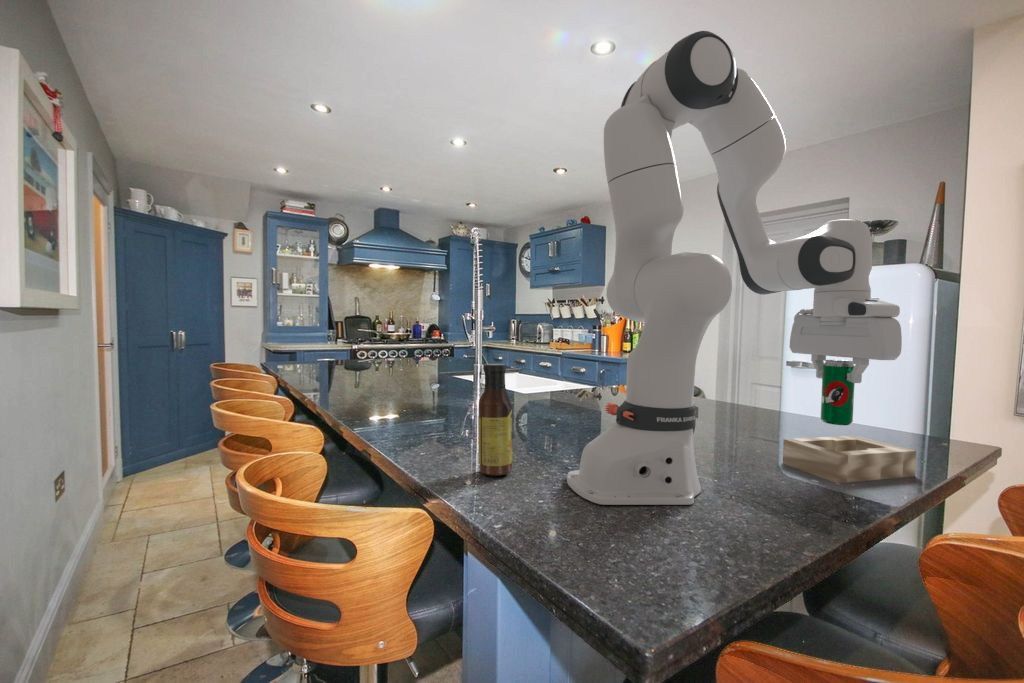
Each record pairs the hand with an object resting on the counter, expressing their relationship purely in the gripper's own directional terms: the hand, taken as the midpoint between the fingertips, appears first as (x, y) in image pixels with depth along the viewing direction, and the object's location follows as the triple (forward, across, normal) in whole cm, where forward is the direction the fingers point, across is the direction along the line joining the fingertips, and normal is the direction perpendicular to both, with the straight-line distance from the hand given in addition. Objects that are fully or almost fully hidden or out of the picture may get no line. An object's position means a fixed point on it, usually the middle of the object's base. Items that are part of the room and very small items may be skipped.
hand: (837, 380), depth 89 cm
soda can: (+8, 0, 0) cm, 8 cm away
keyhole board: (+18, 0, +3) cm, 18 cm away
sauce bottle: (+17, -12, -64) cm, 67 cm away
